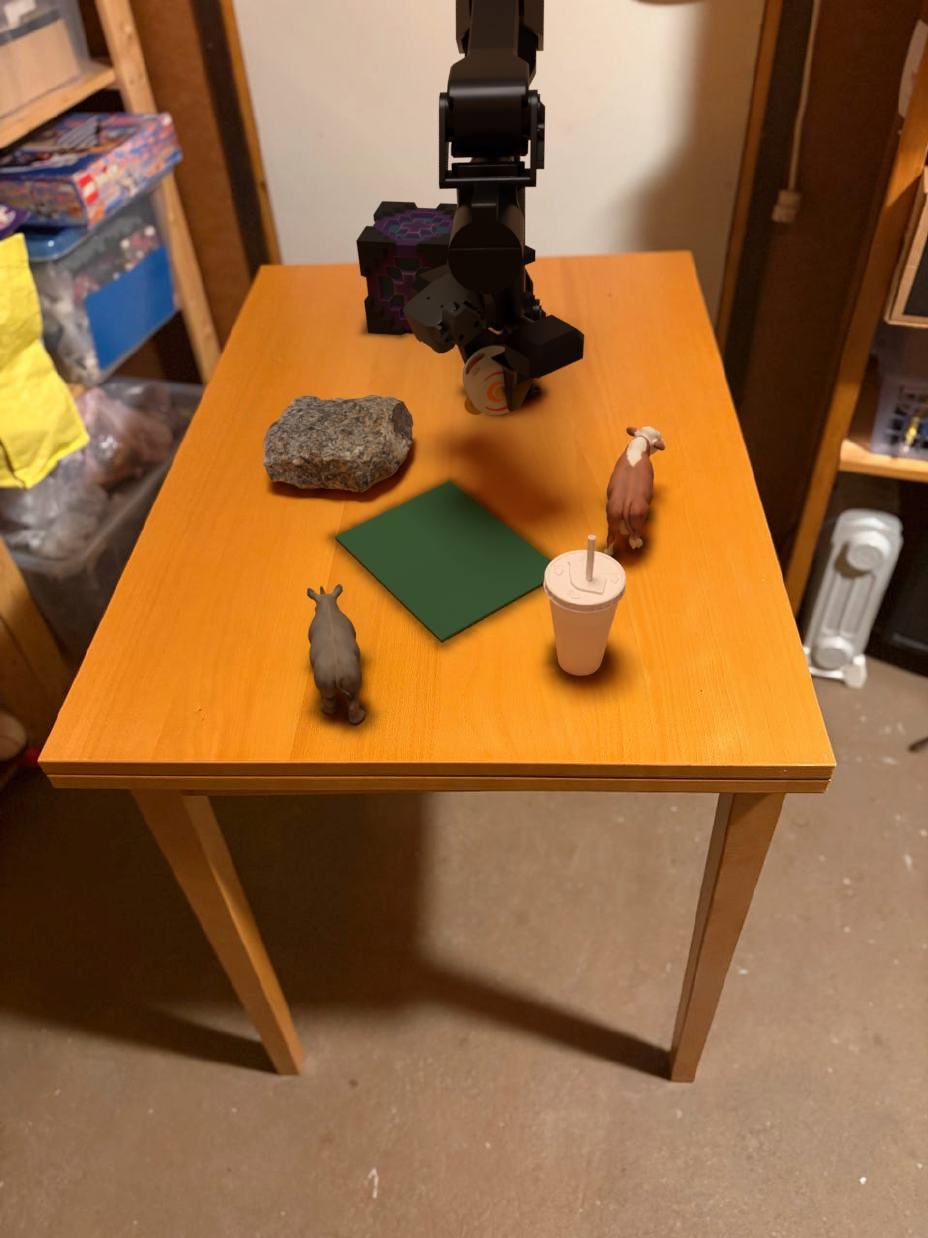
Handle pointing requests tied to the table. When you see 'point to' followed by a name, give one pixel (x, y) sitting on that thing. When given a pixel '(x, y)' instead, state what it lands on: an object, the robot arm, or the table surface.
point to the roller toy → (485, 383)
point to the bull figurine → (632, 487)
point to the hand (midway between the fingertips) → (495, 397)
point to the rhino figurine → (334, 654)
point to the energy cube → (400, 258)
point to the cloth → (446, 559)
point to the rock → (338, 442)
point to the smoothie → (583, 605)
